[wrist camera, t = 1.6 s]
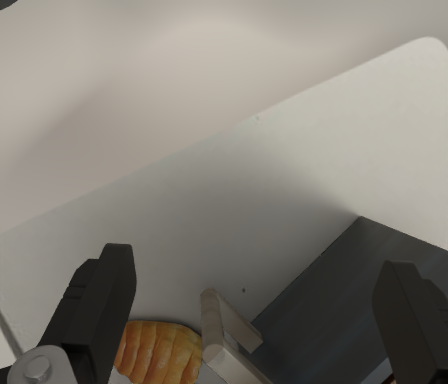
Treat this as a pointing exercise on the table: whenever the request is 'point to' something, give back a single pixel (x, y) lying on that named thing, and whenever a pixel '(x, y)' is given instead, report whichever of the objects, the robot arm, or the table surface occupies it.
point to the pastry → (159, 353)
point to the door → (318, 316)
